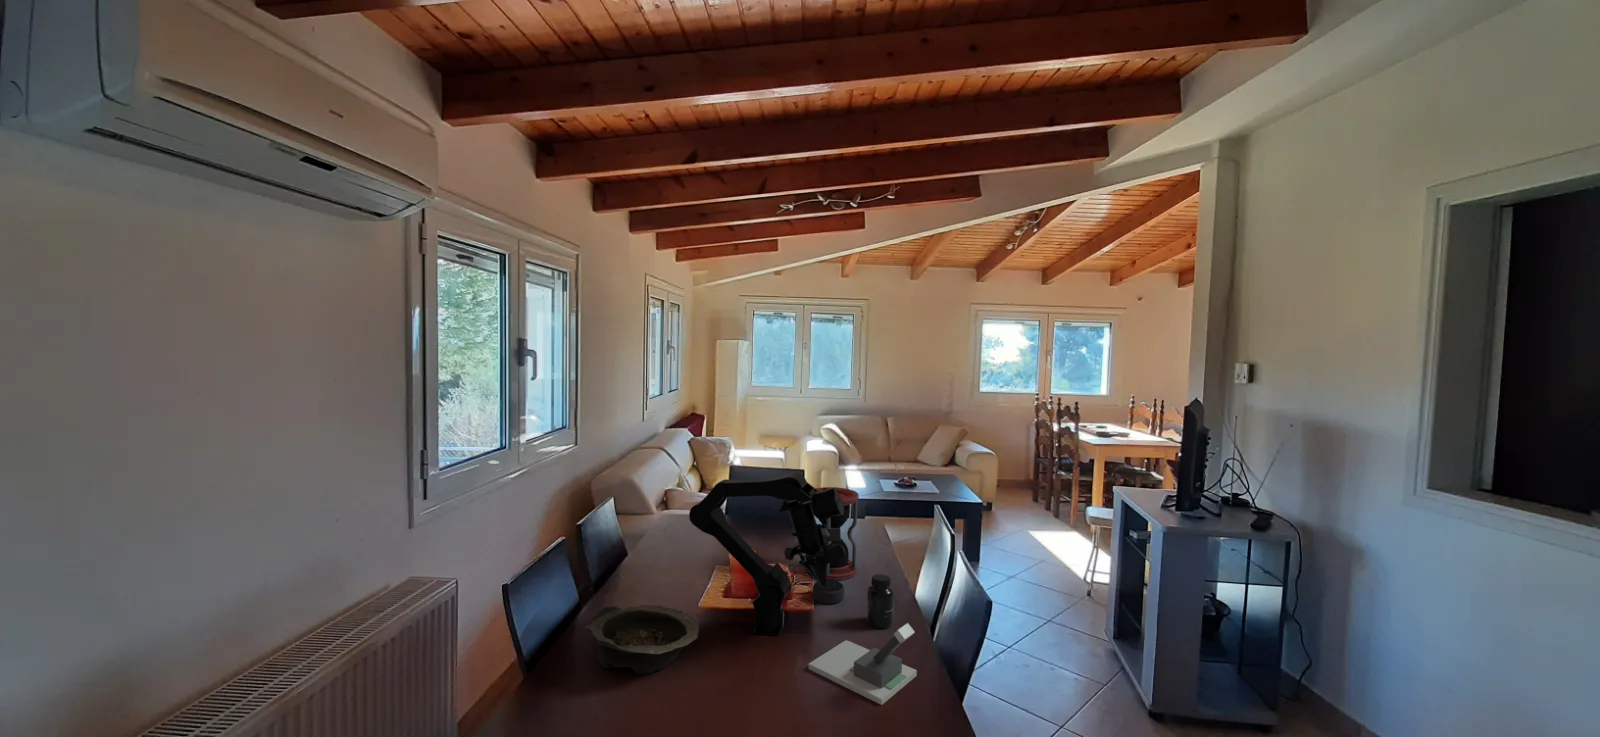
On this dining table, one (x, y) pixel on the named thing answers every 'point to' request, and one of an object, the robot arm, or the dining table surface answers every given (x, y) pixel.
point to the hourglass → (842, 565)
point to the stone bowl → (641, 636)
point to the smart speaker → (828, 592)
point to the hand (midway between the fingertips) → (823, 585)
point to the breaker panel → (846, 678)
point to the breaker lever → (894, 642)
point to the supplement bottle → (880, 602)
